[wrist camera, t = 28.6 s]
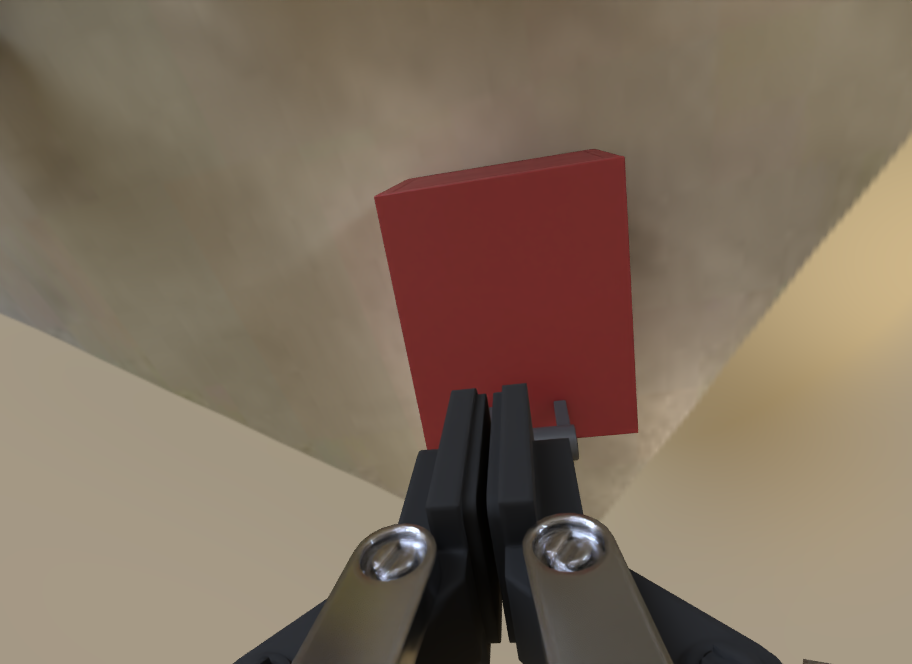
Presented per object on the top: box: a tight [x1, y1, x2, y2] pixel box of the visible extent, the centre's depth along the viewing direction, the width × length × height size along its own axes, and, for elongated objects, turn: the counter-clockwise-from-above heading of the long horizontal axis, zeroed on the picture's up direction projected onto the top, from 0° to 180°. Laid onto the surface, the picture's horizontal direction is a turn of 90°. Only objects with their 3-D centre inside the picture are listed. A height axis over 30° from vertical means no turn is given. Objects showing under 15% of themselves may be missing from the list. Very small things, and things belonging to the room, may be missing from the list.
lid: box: [374, 156, 638, 461], centre depth 27 cm, size 16×13×6 cm
